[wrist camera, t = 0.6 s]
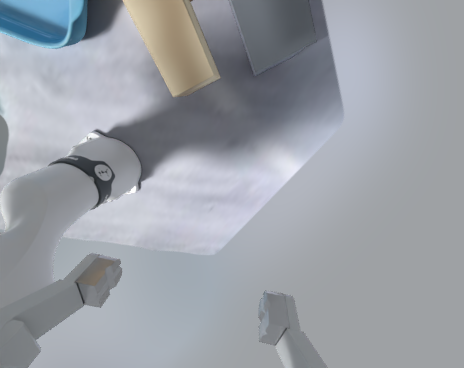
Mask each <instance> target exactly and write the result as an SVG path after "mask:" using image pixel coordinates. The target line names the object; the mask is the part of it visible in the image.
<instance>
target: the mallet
mask: <svg viewBox="0 0 464 368" xmlns="http://www.w3.org/2000/svg"><path fill="white" fill-rule="evenodd" d="M123 2H124V4H125V6H126V8H127V10H128V12H129V14H130V16H131V18H132V20H133V21H134V23H135V25H136V27H137V29H138V31H139V33H140V35H141V37H142V39H143V41H144V43H145V44H146V46H147V48H148V50H149V52H150V54H151V56H152V58H153V60H154V62H155V64H156V66H157V68H158V69H159V71H160V73H161V75H162V77H163V79H164V81H165V83H166V85H167V87H168V89H169V91H170V92H171V94H172V96H173V97H181V96H188V95H190V94H192V93H194V92H195V91H197V90H199V89H201V88H203V87H205V86H207V85H209V84H211V83H213V82H214V81H216V80H218V79H220V78H221V77H220V74H219V72H218V69H217V67H216V64H215V62H214V60H213V57H212V55H211V52H210V50H209V47H208V45H207V42H206V40H205V37H204V35H203V32H202V30H201V28H200V25H199V23H198V20H197V18H196V15H195V13H194V10H193V8H192V5H191V3H190V0H123Z"/></svg>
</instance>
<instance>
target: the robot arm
mask: <svg viewBox="0 0 464 368" xmlns="http://www.w3.org/2000/svg"><path fill="white" fill-rule="evenodd" d="M91 138H92V139H91ZM140 176H141V164H140V161H139V159H138V157H137V155H136V154H135V152H134V151H133V150H132V149H131V148H130V147H129V146H128V145H126V144H125V143H123V142H121V141H119V140H117V139H114V138H109V137H105V136H103V135H102V134H100V133H98V132H96V131H92V132H90V133H89V134H88V135H87V136H86V137H85V138H84V139H83V140H82V141H81V142H80V143H79V144H78V145H76V146H74V147H72V150H71V151H70V152H69V153H68V154H67V156H66V157H63V158H60V159H58V160H56V161H54V162H52V163H50V164H49V165H48V166H47V167H45V168H42V169H40V170H37V171H35V172H32V173H29V174H27V175H24V176H22V177H19V178H16V179H14V180H12V181H11V182H9V183H8V184H7V185H6V186H5V187H4V189H3V190H2V192H1V195H0V209H1V213H2V215H3V218H4V221H5V232H2V233H0V368H28V367H29V365H30V364H31V363H32V362H33V360H34V359H35V358H36V357H37V355H38V354H39V353H40V351H41V347H40V346H39V344H38V343H37V341H36V339H38V338H39V337H41V336H42V335H43V334H45V333H46V332H48V331H49V330H51V329H52V328H53V327H55V326H56V325H58V324H59V323H60V322H62V321H63V320H65V319H66V318H67V317H69V316H70V315H71V314H73V313H74V312H76V311H77V310H79V309H80V308H82V307H83V306H84V305H89V306H94V307H100V308H101V306H102V305H103V304H104V302H105V301H106V299H107V298H108V296H109V295H110V289H112V288H114V287H115V286H116V285H117V283H118V282H119V280H120V278H121V275H122V268H121V267H120V266H119V265H120V264H121V261H120V259H117V258H112V257H107V256H103V255H99V254H94V253H91V254H89V255H87V256H86V257H85V258H84V259H83V260H82V261H81V262H80V264H78V265H77V266H76V267H75V269H73V270H72V271H71V273H69V274H68V276H67V277H65V278H64V280H58V281H56V282H55V280H54V273H53V262H54V256H55V251H56V248H57V246H58V243H59V240H60V239H61V237H62V236H63V234H64V233H65V232H66V231H67V229H68V228H69V227H70V226H71V225H73V224H74V223H75V222H76V221H77V220H78V219H79V218H80V217H82V216H83V215H84V214H85V213H87V212H88V211H89V210H92V209H95V208H96V207H98V206H100V205H101V204H104V203H106V202H108V201H109V202H112V201H113V200H117V199H118V198H120V197H121V196H123V195H126V194H132V193H136V192H137V191H138V189H139V186H138V181H139V179H140ZM259 319H260V321H261V323H260V325H259V342H262V343H266V344H270V345H275V347H276V350H277V352H278V354H279V356H280V358H281V360H282V362H283V365H284V367H285V368H327V366H326V364H325V363H324V361H323V360H322V358H321V357H320V356H319V354H318V353H317V351H316V350H315V348H314V347H313V345H312V344H311V342H310V341H309V339H308V338H307V336H306V335H305V333H304V332H302V331H301V330H300V325H299V320H298V316H297V310H296V306H295V300H294V298H293V296H291V295H286V294H283V293H277V292H272V291H267V290H265V291H264V293H263V298H261V300H260V304H259Z"/></svg>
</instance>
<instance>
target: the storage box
mask: <svg viewBox="0 0 464 368" xmlns="http://www.w3.org/2000/svg"><path fill="white" fill-rule="evenodd" d="M229 3H230V6H231V9H232V12H233V15H234V18H235V21H236V24H237V27H238V30H239V33H240V36H241V39H242V42H243V45H244V48H245V51H246V54H247V57H248V60H249V62H250V65H251V68H252V71H253V74H254V76H256V75H258V74H260V73H262V72H264V71H266V70H268V69H270V68H272V67H274V66H276V65H278V64H280V63H282V62H284V61H286V60H288V59H290V58H292V57H293V56H295V55H296V54H297V53H298V52H300V51H301V50H302V49H304V48H305V47H306V46H308V45H310V44H312V43H314V42H316V41H317V40H316V35H315V30H314V25H313V20H312V15H311V10H310V5H309V0H229Z"/></svg>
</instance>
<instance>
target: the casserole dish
mask: <svg viewBox="0 0 464 368" xmlns="http://www.w3.org/2000/svg"><path fill="white" fill-rule="evenodd" d="M86 27H87V0H0V32H1V33H4V34H6V35H9V36H11V37H14V38H16V39H19V40H22V41H24V42H27V43H30V44H33V45H36V46H40V47H44V48H52V49H56V48H61V47H64V46H69V45H73V44H76V43H78V42H79V41H80V40H82V38H83V37H84V35H85V32H86Z"/></svg>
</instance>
